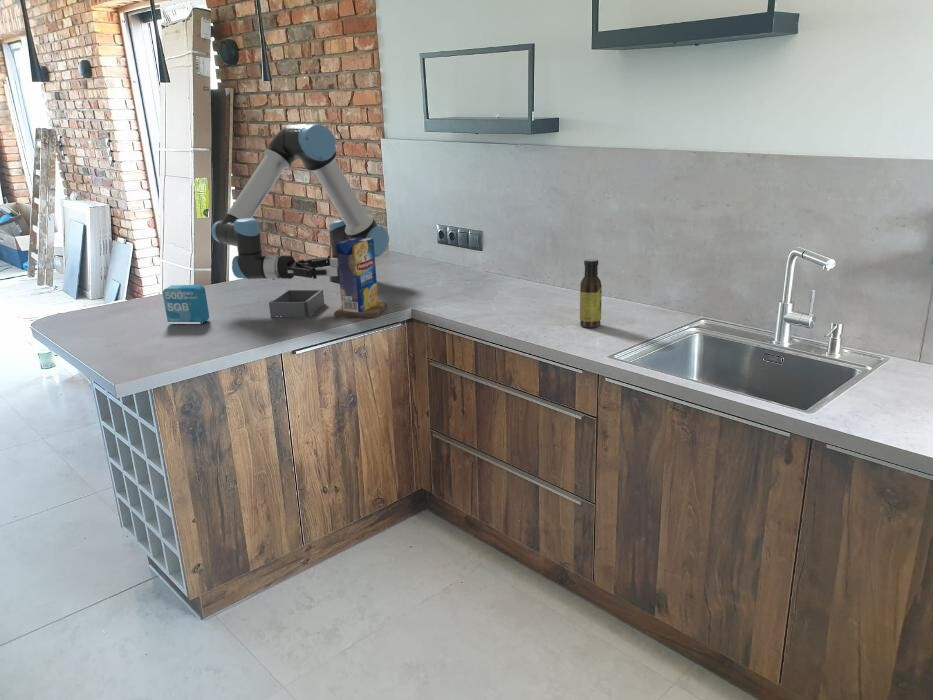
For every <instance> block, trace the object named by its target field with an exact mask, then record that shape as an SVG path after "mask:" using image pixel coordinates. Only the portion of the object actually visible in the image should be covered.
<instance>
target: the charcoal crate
mask: <svg viewBox="0 0 933 700" xmlns="http://www.w3.org/2000/svg"><path fill="white" fill-rule="evenodd" d="M323 304H324V305H325V298H324V290H323V289H286V290H284V292H281V294H279V295H278V296H276V297H275V298H273V299H272V300H270V301H268V307H269V314H270V318H282V317H308V318H309V317H310V315H311V314H312V313H313V314H314V313H315V312H316V311H318V310H319V309H320V308H321V307H323V306H324V305H323ZM318 308H319V309H318ZM317 309H318V310H317ZM313 314H312V315H313ZM312 315H311V316H312ZM276 316H278V317H276ZM280 316H282V317H280Z"/></svg>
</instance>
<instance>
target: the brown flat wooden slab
mask: <svg viewBox="0 0 933 700" xmlns="http://www.w3.org/2000/svg"><path fill="white" fill-rule="evenodd" d="M387 305H388V302H387V301H378V304H377V305H375V306H373V307H371V308H369V309H367V310H364V311H362V312H360V313H359V312H350V311H342V305H341V306H340V307H339V308H337V310H335V311H334V312H333V317H375V318H374V319H377V318H378V317H379V316H380V315H379V314H382V312H383V311H384V310H385V309H386V308H385V307H386V306H387ZM387 307H388V306H387ZM378 315H379V316H378ZM377 316H378V317H377Z"/></svg>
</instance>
